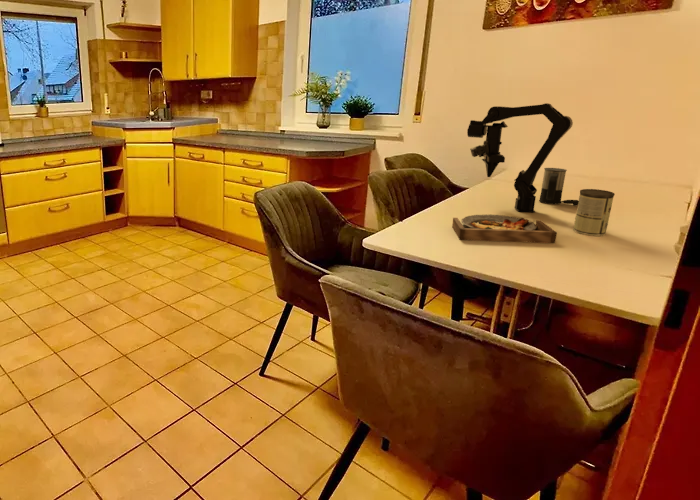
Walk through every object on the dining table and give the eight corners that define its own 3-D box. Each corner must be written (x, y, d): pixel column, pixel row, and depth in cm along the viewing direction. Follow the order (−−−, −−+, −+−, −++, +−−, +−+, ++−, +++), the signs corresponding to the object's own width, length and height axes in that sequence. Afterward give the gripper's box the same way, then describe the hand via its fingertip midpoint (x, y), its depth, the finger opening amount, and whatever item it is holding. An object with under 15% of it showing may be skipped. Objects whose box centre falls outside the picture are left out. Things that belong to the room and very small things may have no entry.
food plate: (544, 227, 158) (545, 217, 157) (523, 243, 141) (525, 232, 140) (477, 217, 173) (477, 208, 172) (450, 230, 155) (451, 220, 154)
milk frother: (536, 199, 203) (541, 166, 198) (572, 201, 201) (579, 168, 196) (544, 206, 189) (550, 171, 185) (583, 208, 187) (590, 173, 183)
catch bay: (539, 230, 155) (540, 220, 154) (555, 243, 141) (556, 232, 140) (452, 227, 156) (453, 217, 155) (459, 239, 142) (460, 229, 141)
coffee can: (571, 226, 160) (578, 187, 156) (602, 229, 157) (611, 190, 152) (574, 234, 151) (582, 193, 146) (608, 237, 148) (617, 196, 143)
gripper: (468, 136, 190) (464, 172, 195) (478, 140, 172) (474, 180, 178) (494, 136, 190) (490, 173, 195) (507, 141, 172) (502, 181, 177)
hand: (488, 177), depth 186 cm, fingers closed
